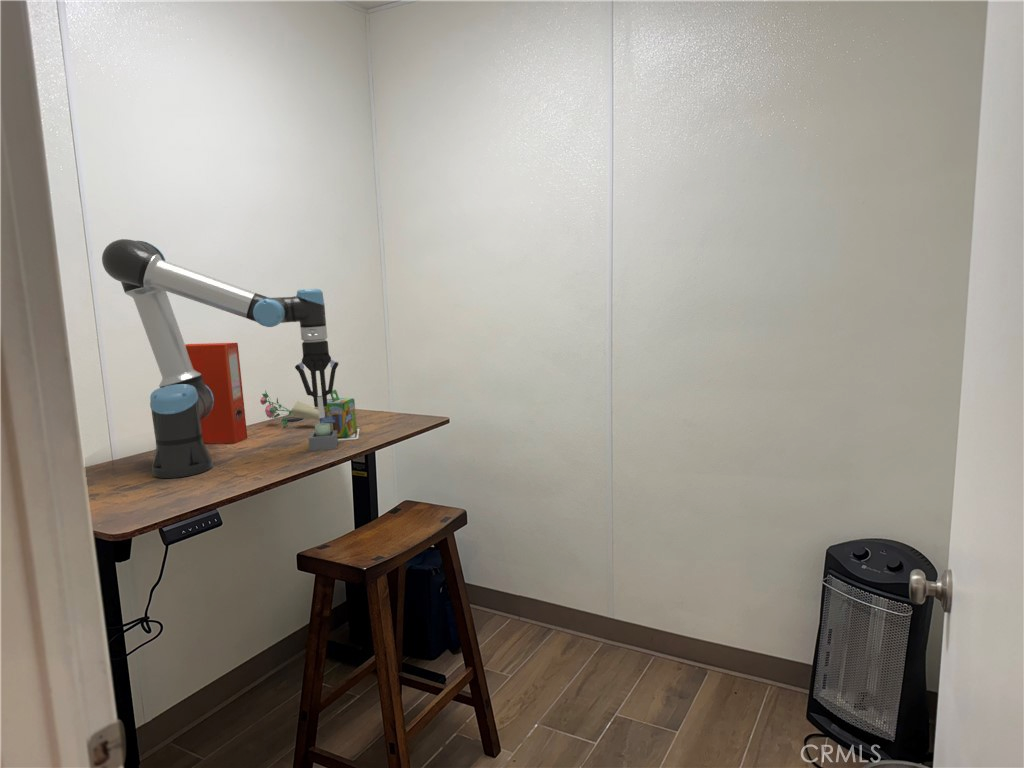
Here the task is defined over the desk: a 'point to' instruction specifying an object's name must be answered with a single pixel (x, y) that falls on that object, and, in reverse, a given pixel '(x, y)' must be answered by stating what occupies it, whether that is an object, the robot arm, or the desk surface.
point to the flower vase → (298, 410)
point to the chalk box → (340, 415)
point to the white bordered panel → (351, 437)
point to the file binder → (221, 391)
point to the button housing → (323, 441)
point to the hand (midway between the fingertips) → (322, 417)
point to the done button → (322, 429)
